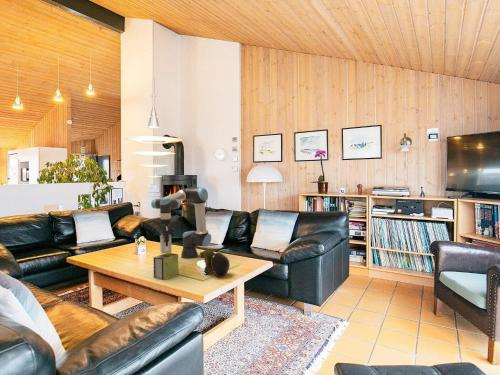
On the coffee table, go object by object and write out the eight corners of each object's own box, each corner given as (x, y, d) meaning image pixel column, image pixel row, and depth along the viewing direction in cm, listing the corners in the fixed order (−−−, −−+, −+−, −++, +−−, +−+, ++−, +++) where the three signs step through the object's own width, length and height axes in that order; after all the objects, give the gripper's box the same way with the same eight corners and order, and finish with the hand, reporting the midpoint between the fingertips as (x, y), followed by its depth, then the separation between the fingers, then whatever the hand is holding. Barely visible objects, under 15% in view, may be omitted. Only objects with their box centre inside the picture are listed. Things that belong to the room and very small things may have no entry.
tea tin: (170, 250, 235) (170, 234, 235) (171, 252, 228) (171, 236, 228) (160, 251, 232) (159, 235, 232) (161, 253, 225) (161, 237, 225)
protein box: (178, 274, 235) (178, 254, 234) (163, 280, 222) (163, 258, 221) (168, 272, 240) (168, 252, 240) (153, 277, 227) (153, 256, 226)
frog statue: (217, 285, 224) (192, 270, 236) (230, 278, 237) (205, 264, 249) (222, 262, 220) (196, 248, 232) (235, 256, 233) (209, 243, 245)
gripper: (158, 217, 237) (159, 247, 238) (162, 220, 219) (162, 252, 220) (168, 216, 240) (169, 246, 241) (172, 220, 222) (173, 251, 223)
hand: (165, 249), depth 230 cm, fingers closed on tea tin, 7 cm apart
